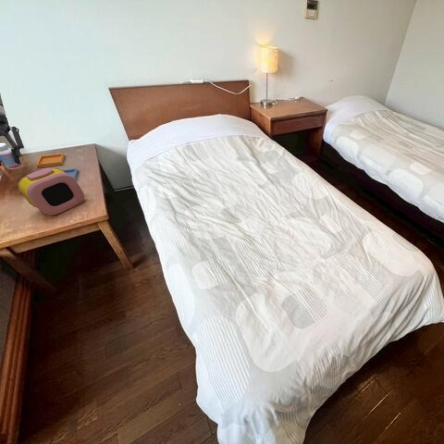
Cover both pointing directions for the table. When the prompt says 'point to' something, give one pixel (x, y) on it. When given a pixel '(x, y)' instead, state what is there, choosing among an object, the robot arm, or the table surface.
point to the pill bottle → (8, 157)
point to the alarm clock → (51, 190)
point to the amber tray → (50, 160)
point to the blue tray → (72, 172)
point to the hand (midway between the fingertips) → (8, 164)
